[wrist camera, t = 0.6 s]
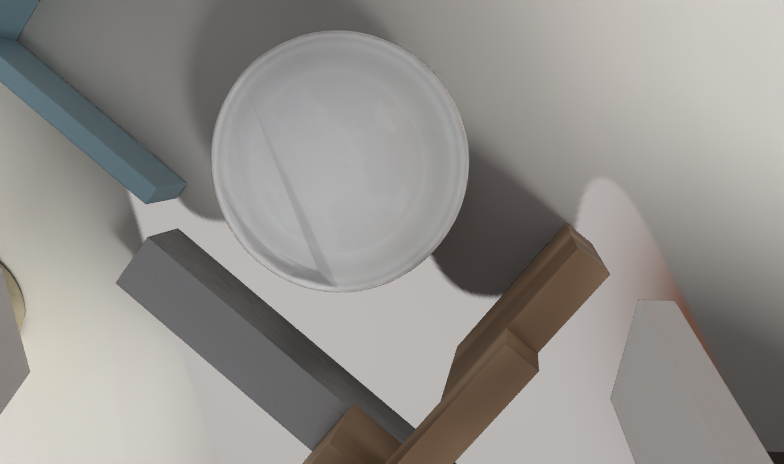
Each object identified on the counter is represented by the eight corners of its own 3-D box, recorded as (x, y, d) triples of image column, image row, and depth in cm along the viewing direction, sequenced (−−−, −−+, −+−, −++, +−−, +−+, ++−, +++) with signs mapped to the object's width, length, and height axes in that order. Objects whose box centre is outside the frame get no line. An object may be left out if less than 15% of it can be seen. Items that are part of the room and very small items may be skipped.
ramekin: (216, 188, 36) (163, 198, 30) (328, -3, 33) (292, -27, 28) (392, 313, 35) (369, 345, 30) (521, 128, 32) (521, 127, 27)
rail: (456, 464, 35) (450, 494, 32) (420, 503, 36) (411, 536, 33) (178, 228, 36) (147, 236, 33) (147, 270, 37) (115, 282, 34)
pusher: (629, 274, 32) (823, 537, 11) (409, 511, 35) (254, 1030, 15) (528, 192, 32) (536, 302, 12) (321, 435, 36) (50, 843, 15)
